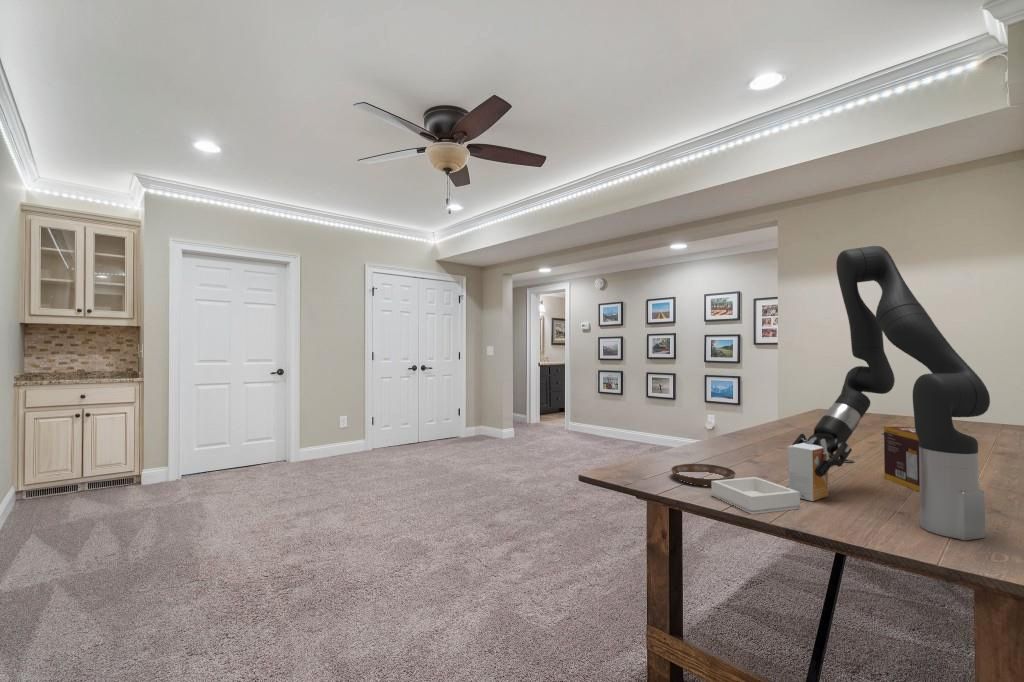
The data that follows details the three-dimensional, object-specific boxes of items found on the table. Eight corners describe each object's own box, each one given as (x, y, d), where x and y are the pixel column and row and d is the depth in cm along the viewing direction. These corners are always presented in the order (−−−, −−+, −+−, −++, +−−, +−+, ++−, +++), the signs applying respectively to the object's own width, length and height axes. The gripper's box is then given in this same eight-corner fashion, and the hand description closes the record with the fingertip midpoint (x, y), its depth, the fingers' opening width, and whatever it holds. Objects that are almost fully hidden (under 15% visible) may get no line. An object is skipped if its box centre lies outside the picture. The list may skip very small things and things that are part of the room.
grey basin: (799, 508, 115) (799, 491, 115) (751, 514, 111) (751, 496, 111) (755, 491, 128) (755, 476, 128) (711, 496, 124) (711, 480, 125)
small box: (813, 502, 119) (812, 449, 119) (787, 495, 125) (786, 445, 125) (829, 496, 124) (828, 446, 124) (803, 490, 129) (802, 442, 129)
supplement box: (920, 478, 141) (920, 425, 141) (965, 494, 125) (964, 435, 126) (883, 477, 142) (882, 425, 142) (922, 493, 126) (921, 434, 127)
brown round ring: (671, 486, 134) (671, 475, 134) (670, 471, 151) (670, 461, 151) (740, 491, 129) (740, 480, 129) (731, 475, 146) (731, 465, 146)
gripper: (806, 411, 133) (773, 455, 130) (855, 418, 120) (819, 467, 116) (821, 429, 135) (789, 473, 131) (871, 438, 121) (837, 487, 118)
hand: (803, 470), depth 124 cm, fingers closed on small box, 8 cm apart
